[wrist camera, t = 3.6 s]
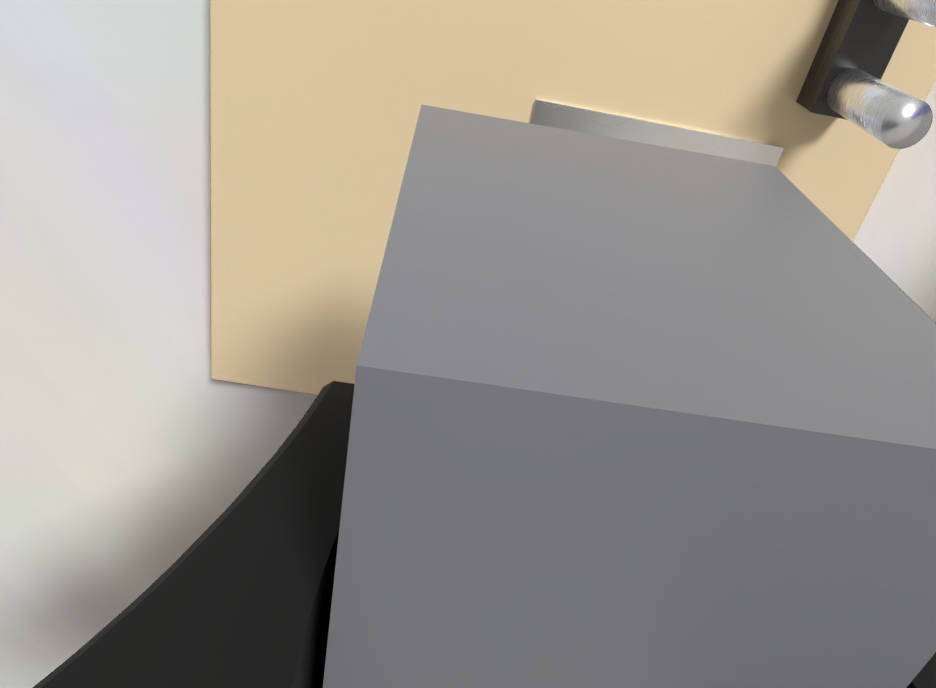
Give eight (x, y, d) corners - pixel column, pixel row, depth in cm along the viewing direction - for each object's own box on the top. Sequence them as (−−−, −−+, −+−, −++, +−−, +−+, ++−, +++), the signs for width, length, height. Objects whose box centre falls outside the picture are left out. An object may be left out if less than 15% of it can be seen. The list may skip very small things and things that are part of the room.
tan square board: (734, 445, 20) (740, 459, 20) (218, 365, 19) (211, 379, 18) (974, -36, 14) (993, -33, 13) (220, -206, 13) (210, -209, 12)
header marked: (652, 452, 20) (682, 547, 17) (461, 422, 19) (458, 516, 16) (782, 146, 15) (851, 207, 12) (536, 98, 15) (550, 150, 12)
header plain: (842, 111, 15) (919, 159, 12) (795, 101, 15) (862, 149, 12) (913, -44, 13) (1017, -25, 11) (861, -56, 13) (953, -39, 11)
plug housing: (601, 593, 12) (666, 974, 8) (360, 564, 12) (296, 943, 8) (774, 165, 8) (1087, 470, 4) (421, 103, 8) (356, 363, 4)
